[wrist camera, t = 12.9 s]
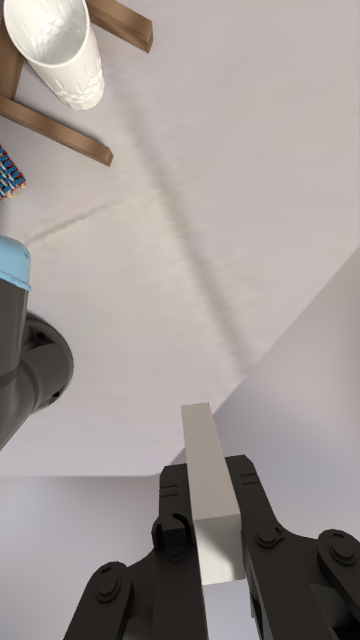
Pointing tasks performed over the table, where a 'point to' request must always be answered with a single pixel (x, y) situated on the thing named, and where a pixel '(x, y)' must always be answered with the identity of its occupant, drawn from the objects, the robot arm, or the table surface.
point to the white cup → (58, 47)
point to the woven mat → (9, 177)
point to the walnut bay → (3, 75)
